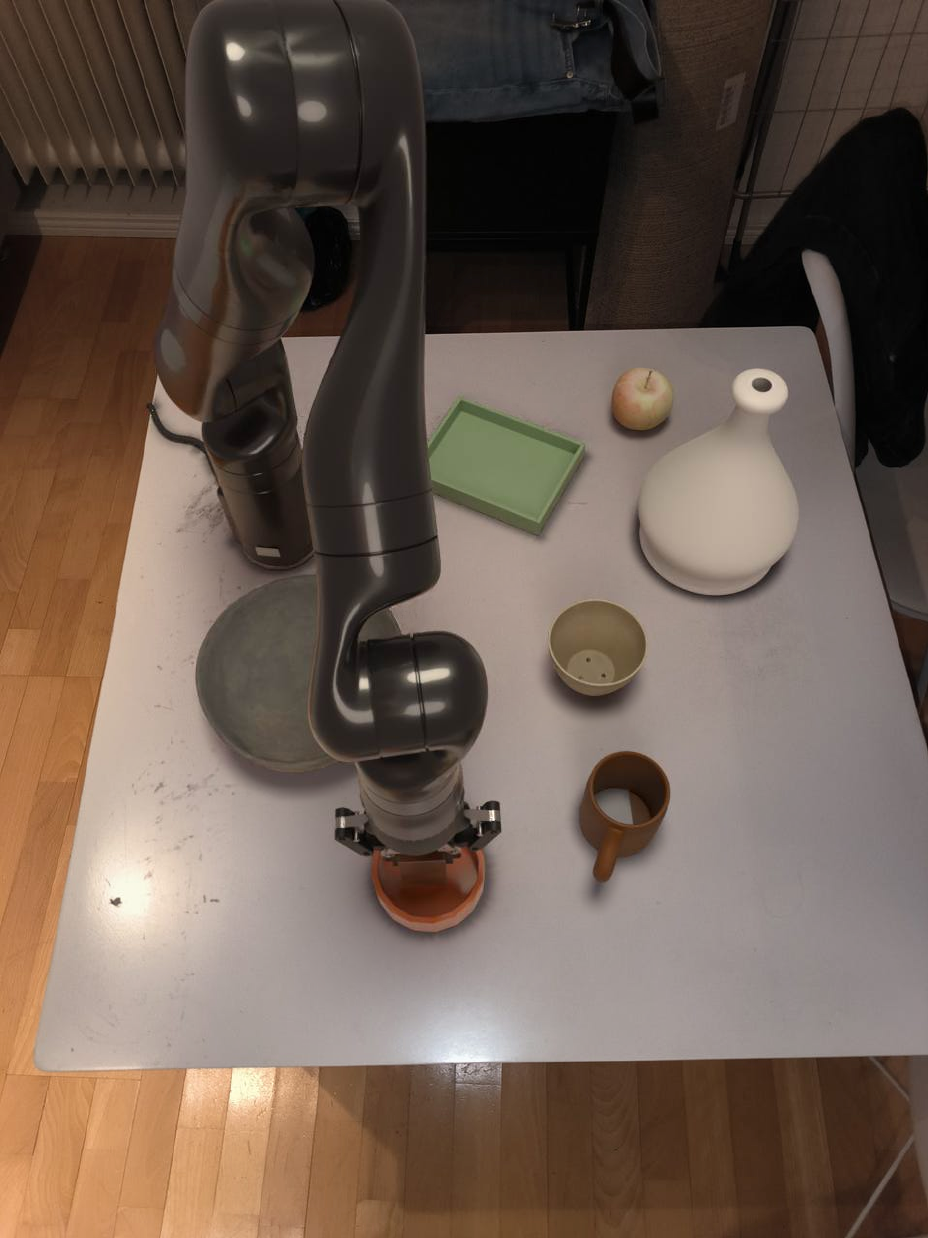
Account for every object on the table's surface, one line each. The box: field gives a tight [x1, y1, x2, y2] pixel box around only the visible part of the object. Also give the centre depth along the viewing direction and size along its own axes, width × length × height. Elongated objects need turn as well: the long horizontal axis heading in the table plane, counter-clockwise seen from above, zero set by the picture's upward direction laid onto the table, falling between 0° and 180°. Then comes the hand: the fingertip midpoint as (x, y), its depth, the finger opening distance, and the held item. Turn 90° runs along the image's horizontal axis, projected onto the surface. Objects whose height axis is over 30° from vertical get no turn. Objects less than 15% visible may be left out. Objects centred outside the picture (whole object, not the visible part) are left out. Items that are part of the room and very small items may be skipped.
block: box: [398, 850, 447, 886], centre depth 86 cm, size 4×4×8 cm
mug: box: [579, 750, 671, 883], centre depth 90 cm, size 12×8×9 cm, turn 159°
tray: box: [427, 395, 586, 536], centre depth 116 cm, size 17×13×2 cm
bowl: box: [194, 573, 403, 773], centre depth 99 cm, size 21×21×8 cm
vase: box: [637, 367, 800, 596], centre depth 101 cm, size 17×17×25 cm
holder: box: [370, 846, 486, 933], centre depth 91 cm, size 10×10×4 cm
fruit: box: [610, 367, 675, 431], centre depth 117 cm, size 8×7×8 cm
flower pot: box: [547, 598, 649, 697], centre depth 100 cm, size 10×10×7 cm
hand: (423, 853), depth 86 cm, fingers closed on block, 4 cm apart
